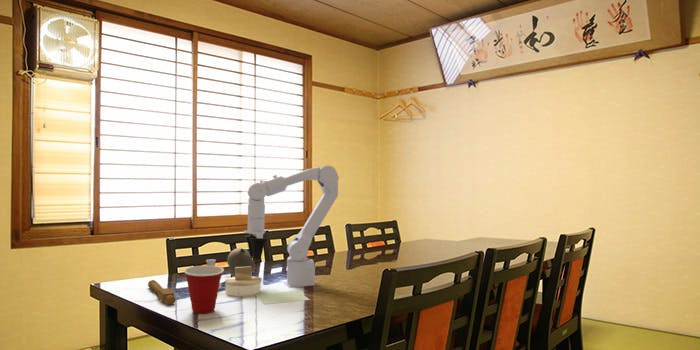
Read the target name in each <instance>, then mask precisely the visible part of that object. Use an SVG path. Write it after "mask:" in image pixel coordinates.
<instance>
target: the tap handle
mask: <svg viewBox="0 0 700 350" xmlns="http://www.w3.org/2000/svg"><path fill="white" fill-rule="evenodd" d="M147 286H148V288H149V289H150V290H151V291H153V292H154V293H156V294H157V299H158V300H159V301H160V302H161V303H162V304H167V305H168V306H171V305H173V304H175V302H176V300H177V299H176V297H175V292H174V291H173V290H172V289H170V288H169V287H167V288H165V287H164V288H163V287H162V286H161V284H160V283H159V282H158V281H156V280H154V279H151V280H149V281H148V283H147Z"/></svg>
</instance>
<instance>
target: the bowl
mask: <svg viewBox="0 0 700 350" xmlns="http://www.w3.org/2000/svg"><path fill="white" fill-rule="evenodd" d="M224 283H225V285H224V286H225V288H224V289H225V294H226V295H227V296H233V297H234V296H235V297H243V296H253V295H254V296H255V294H260V293H261V282H260V283H258V284H254V285H247V286H232V285H227V284H226V281H225V282H224Z"/></svg>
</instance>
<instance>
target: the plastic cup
mask: <svg viewBox="0 0 700 350" xmlns="http://www.w3.org/2000/svg"><path fill="white" fill-rule="evenodd" d="M224 270H225V269H224V268H223V267H220V266H216V265H215V266H207V265H195V266H190V267H186V268H185V269H184V270H183V272H184V274H185V278H186V281H187V287H188V293H189V299H190V302H191V303H190V304H191V310H192V313H193V314H198V315H203V314H211V313H213V312H215V308H216V303H217V299H218V294H219V293H218V292H219V290H220V289H219V283H221V278H222V275H223V273H224V272H225V271H224Z"/></svg>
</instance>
